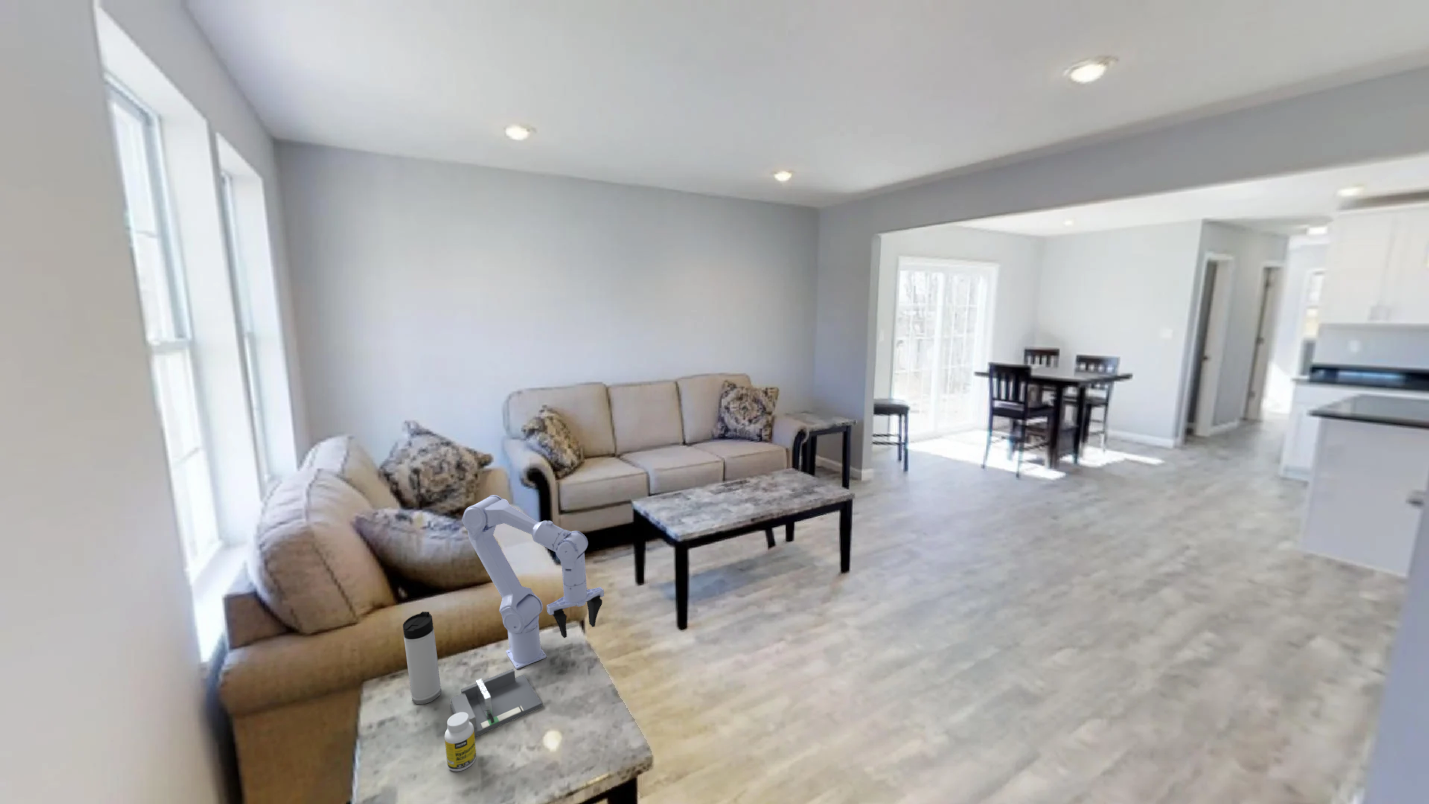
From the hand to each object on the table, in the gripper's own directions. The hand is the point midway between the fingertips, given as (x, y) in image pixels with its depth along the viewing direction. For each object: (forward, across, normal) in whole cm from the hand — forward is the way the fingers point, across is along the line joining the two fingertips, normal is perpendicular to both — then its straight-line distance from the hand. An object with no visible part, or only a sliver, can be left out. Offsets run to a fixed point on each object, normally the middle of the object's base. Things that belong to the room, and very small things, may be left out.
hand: (578, 630), depth 142 cm
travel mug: (+10, -34, +12) cm, 37 cm away
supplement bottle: (+10, -32, -15) cm, 37 cm away
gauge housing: (+9, -22, -3) cm, 24 cm away
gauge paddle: (+8, -24, -4) cm, 26 cm away
